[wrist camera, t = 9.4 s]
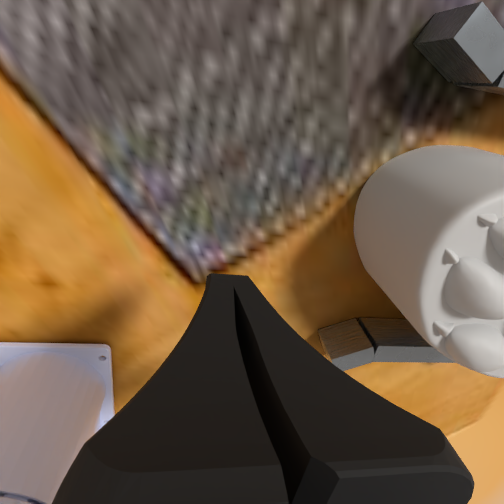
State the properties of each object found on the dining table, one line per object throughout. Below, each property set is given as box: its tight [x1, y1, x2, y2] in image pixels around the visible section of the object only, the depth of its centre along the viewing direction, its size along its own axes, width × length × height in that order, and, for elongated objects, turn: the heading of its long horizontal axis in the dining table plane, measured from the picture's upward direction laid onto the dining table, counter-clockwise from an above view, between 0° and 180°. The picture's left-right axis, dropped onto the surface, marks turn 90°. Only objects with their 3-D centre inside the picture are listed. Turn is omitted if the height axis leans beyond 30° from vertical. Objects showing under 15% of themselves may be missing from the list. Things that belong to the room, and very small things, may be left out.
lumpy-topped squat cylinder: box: [354, 145, 504, 378], centre depth 18 cm, size 10×13×9 cm
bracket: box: [318, 2, 504, 371], centre depth 20 cm, size 21×14×4 cm, turn 171°
